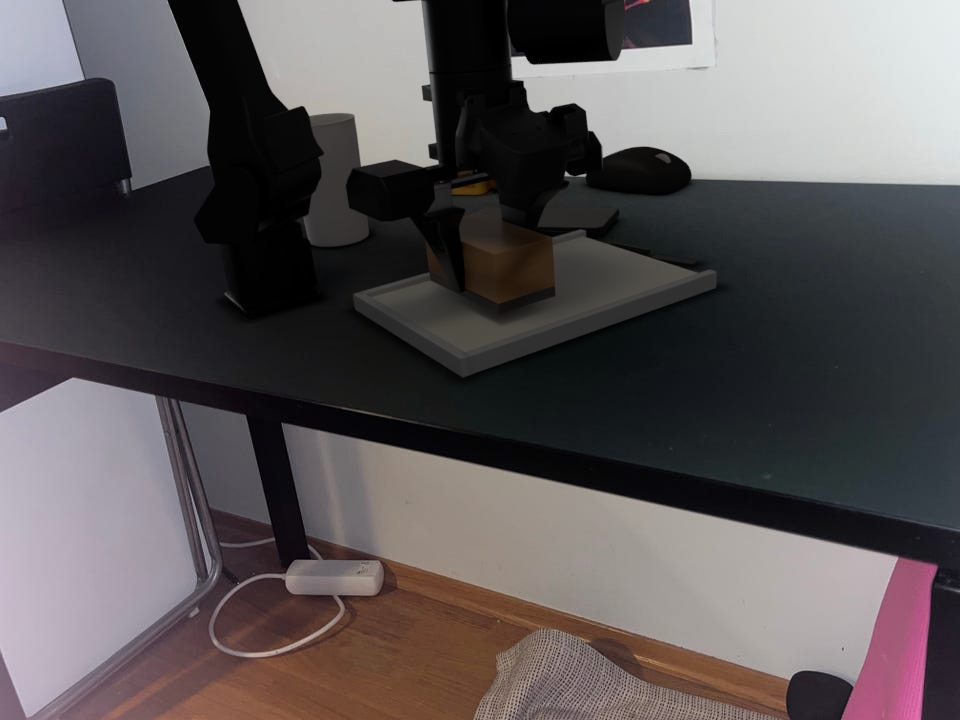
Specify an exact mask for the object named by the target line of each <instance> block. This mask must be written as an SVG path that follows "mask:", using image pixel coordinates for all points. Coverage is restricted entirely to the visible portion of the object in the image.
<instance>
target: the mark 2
mask: <svg viewBox="0 0 960 720" xmlns="http://www.w3.org/2000/svg"><path fill="white" fill-rule="evenodd" d="M650 258H653V259H656V260H659V261H662V262H665V263H668V264H673V265H677V266H681V267H687V268H694V267H695V266H696V267H697V265H699V260H695V259H689V258H683V257H675V256H669V255H662V254H657V253H656V254H654V255H652V256H650Z"/></svg>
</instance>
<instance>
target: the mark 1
mask: <svg viewBox="0 0 960 720" xmlns="http://www.w3.org/2000/svg"><path fill="white" fill-rule="evenodd" d="M610 245H612V246H615V247H618V248H621V249H624V250H628V251H631V252H634V253H637V254H640V255H643V256H646V257H650V258H651V248H647V247H644V246H639V245H633V244H628V243H623V242H619V241H618V242H617V241H611V242H610Z"/></svg>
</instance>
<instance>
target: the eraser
mask: <svg viewBox="0 0 960 720" xmlns="http://www.w3.org/2000/svg"><path fill="white" fill-rule="evenodd" d="M476 212H477V211H476ZM459 231H460V239H461V247H462V254H463V262H464V270H465V291H464V292H462V293H459V292H457V291H455V290H454V289H453V287H452V285H451V284H450V282H449V280H448V278H447V276H446V275H445V273H444V271H443V269H442V268H441V266H440V264H439V262H438V260H437V259H436V257H435V255H434V253H433V252H432V250H431V248H430V246H429V245H428V243H427V241H426V240H425V239H424V240H425V250H426V254H427V255H426V257H427V264H428V265H427V266H428V271H429V273H430V280H431V281H432V282H434V283H437V284H439V285H441V286H443V287H445V288H447V289H449V290H451V291H453V292H455V293H457V294H459V295H461V296H463V297H465V298H467V299H469V300H471V301H473V302H475V303H477V304H479V305H481V306H483V307H485V308H487V309H489V310H491V311H493V312H495V313H497V314H502V313H505V312H508V311H511V310H514V309H518V308H521V307H524V306H527V305H530V304H533V303H536V302H539V301H542V300H545V299H548V298H551V297H554V296H555V295H556V294H555V276H554V259H553V242H552V237H553V236H549V235H548V234H541V233H538V232H535V231H532V230H529V229H526V228H523V227H520V226H517V225H514V224H511V223H508V222H505V221H502V220H499V219H496V218H493V217H490V216H487V215H484V214H481V213H478V212H477V213H475V212H473V213H469V214H466V215H465V214H464V216H463V218H462V220H461V223H460V226H459Z"/></svg>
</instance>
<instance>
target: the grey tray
mask: <svg viewBox="0 0 960 720" xmlns="http://www.w3.org/2000/svg"><path fill="white" fill-rule="evenodd" d="M551 237H552V242H553V259H554V276H555V294H556V295H555V296H554V297H551V298H548V299H545V300H542V301H539V302H536V303H533V304H530V305H527V306H524V307H521V308H518V309H514V310H511V311H508V312H505V313H502V314H497V313H495V312H493V311H491V310H489V309H487V308H485V307H483V306H481V305H479V304H477V303H475V302H473V301H471V300H469V299H467V298H465V297H463V296H461V295H459V294H457V293H455V292H453V291H451V290H449V289H447V288H445V287H443V286H441V285H439V284H437V283H434V282H432V281H431V280H430V273H429V272H430V271H429V272H426V273H425V272H424V273H422V274H417V275H414V276H410V277H407V278H404V279H400V280H396V281H393V282H390V283H387V284H383V285H379V286H376V287H372V288H369V289H365V290H361V291H358V292H353V293H352V298H353V304H354V305H353V306H354V310H355V311H357V313H359V314H361V315H363V317H366V318H367V319H369V320H371V322H374V323H375V324H377V325H378V326H380V327H382V328H383V329H385V330H386V331H388V332H390V333H391V334H392V335H394V336H396V337H398V338H399V339H401V341H404V342H405V343H407V344H408V345H410V346H412V347H413V348H414V349H416V350H418V351H420V352H421V353H423V354H424V355H426V356H427V357H429V358H430V359H432V360H433V361H436V362H437V363H439V364H440V365H442V367H443V366H444V367H445V368H446V369H448V370H450V371H451V372H452V373H454V374H456V375H457V376H459V377H460V378H463V379H464V378H466V377H469V376H472V375H475V374H476V373H479V372H482V371H485V370H487V369H488V370H489V369H491V368H494V367H496V366H500V365H503V364H506V363H508V362H511V361H514V360H516V359H519V358H523V357H525V356H528V355H531V354H534V353H537V352H539V351H542V350H545V349H548V348H551V347H554V346H557V345H559V344H562V343H565V342H568V341H570V340H574V339H576V338H579V337H581V336H586V335H587V334H590V333H593V332H596V331H599V330H601V329H604V328H607V327H610V326H614V325H616V324H618V323H622V322H625V321H628V320H629V319H633V318H636V317H639V316H641V315H644V314H646V313H650V312H653V311H656V310H658V309H662V308H664V307H667V306H670V305H673V304H675V303H678V302H680V301H681V302H682V301H684V300H687V299H689V298H693V297H695V296H698V295H701V294H704V293H706V292H709V291H713V290H715V289H717V283H718V282H717V281H718V280H717V279H718V278H717V277H718V272H717V271H716V270H713V269H706V270H703V271H700V272H696V271H693V270H690V269H687V268H683V267H682V266H681V267H678V266H679V265H677V266H675V265H671V264H668V263H665V262H662V261H659V260H656V259H653V258H651V256H650V257H646V256H643V255H640V254H637V253H634V252H631V251H628V250H624V249H621V248H618V247H615V246H612V245H611V244H609V243H606V242H602V241H600V240H596V239H593V238H590V237H587V235H586V231H585V230H577V231H574V232H570V233H566V234H563V235H555V236H551Z"/></svg>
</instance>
